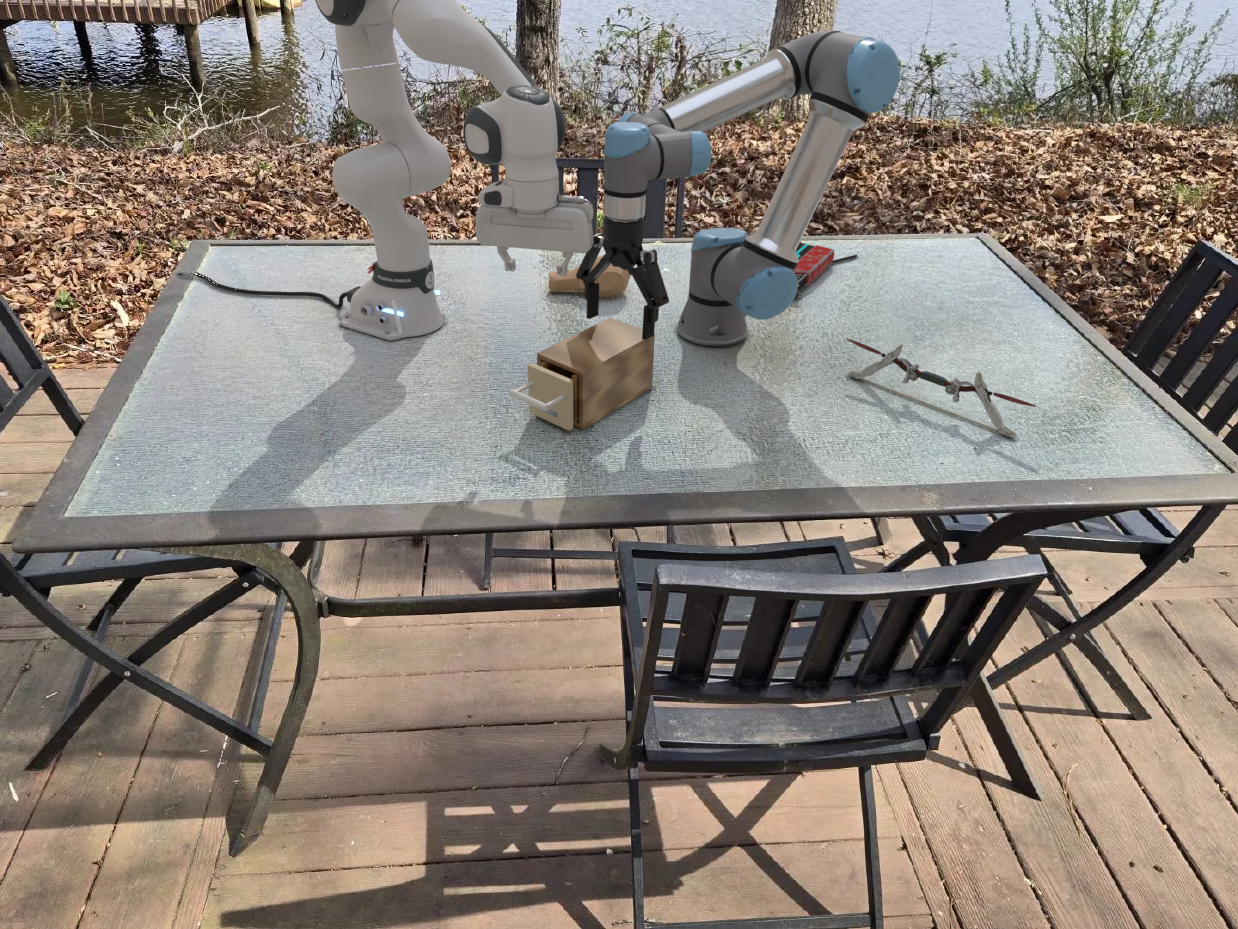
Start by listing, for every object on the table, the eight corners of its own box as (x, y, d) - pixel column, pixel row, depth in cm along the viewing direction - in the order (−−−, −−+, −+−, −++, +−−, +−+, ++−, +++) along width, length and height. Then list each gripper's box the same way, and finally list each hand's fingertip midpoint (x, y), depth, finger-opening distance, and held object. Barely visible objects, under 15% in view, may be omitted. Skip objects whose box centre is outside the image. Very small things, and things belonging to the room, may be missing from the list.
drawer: (548, 443, 154) (546, 394, 148) (508, 424, 159) (505, 375, 154) (636, 391, 170) (638, 344, 165) (597, 375, 176) (598, 329, 170)
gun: (721, 268, 215) (795, 287, 208) (770, 231, 237) (839, 247, 230) (719, 285, 218) (792, 305, 210) (768, 247, 240) (836, 264, 232)
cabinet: (582, 429, 160) (583, 372, 153) (538, 409, 166) (536, 353, 159) (652, 388, 174) (655, 333, 167) (608, 370, 179) (610, 317, 173)
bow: (1027, 440, 160) (1043, 392, 155) (1023, 443, 159) (1039, 395, 154) (842, 370, 182) (850, 325, 176) (837, 372, 181) (846, 328, 175)
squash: (632, 302, 209) (628, 269, 203) (549, 309, 210) (543, 277, 204) (632, 277, 217) (628, 245, 210) (552, 285, 218) (546, 253, 212)
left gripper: (597, 191, 147) (598, 271, 154) (481, 183, 150) (487, 261, 158) (588, 202, 141) (589, 284, 149) (468, 193, 145) (475, 273, 153)
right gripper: (694, 227, 151) (684, 339, 163) (584, 196, 164) (583, 302, 176) (668, 237, 146) (660, 352, 158) (557, 205, 159) (557, 313, 171)
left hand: (536, 272), depth 153 cm, fingers open, 8 cm apart
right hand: (619, 326), depth 167 cm, fingers open, 13 cm apart
